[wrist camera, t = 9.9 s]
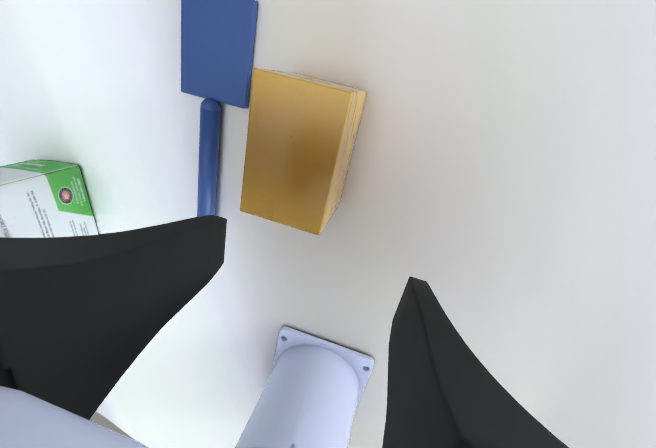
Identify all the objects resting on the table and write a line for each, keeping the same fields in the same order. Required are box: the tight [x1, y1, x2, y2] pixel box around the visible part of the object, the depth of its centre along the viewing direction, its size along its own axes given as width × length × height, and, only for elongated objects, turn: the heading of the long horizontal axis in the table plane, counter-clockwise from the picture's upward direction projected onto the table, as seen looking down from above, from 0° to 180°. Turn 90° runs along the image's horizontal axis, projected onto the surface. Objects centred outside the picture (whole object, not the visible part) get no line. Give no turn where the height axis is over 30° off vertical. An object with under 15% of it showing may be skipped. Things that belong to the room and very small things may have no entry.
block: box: [240, 68, 367, 235], centre depth 17 cm, size 7×4×5 cm, turn 168°
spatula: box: [181, 0, 258, 217], centre depth 20 cm, size 15×4×1 cm, turn 168°
